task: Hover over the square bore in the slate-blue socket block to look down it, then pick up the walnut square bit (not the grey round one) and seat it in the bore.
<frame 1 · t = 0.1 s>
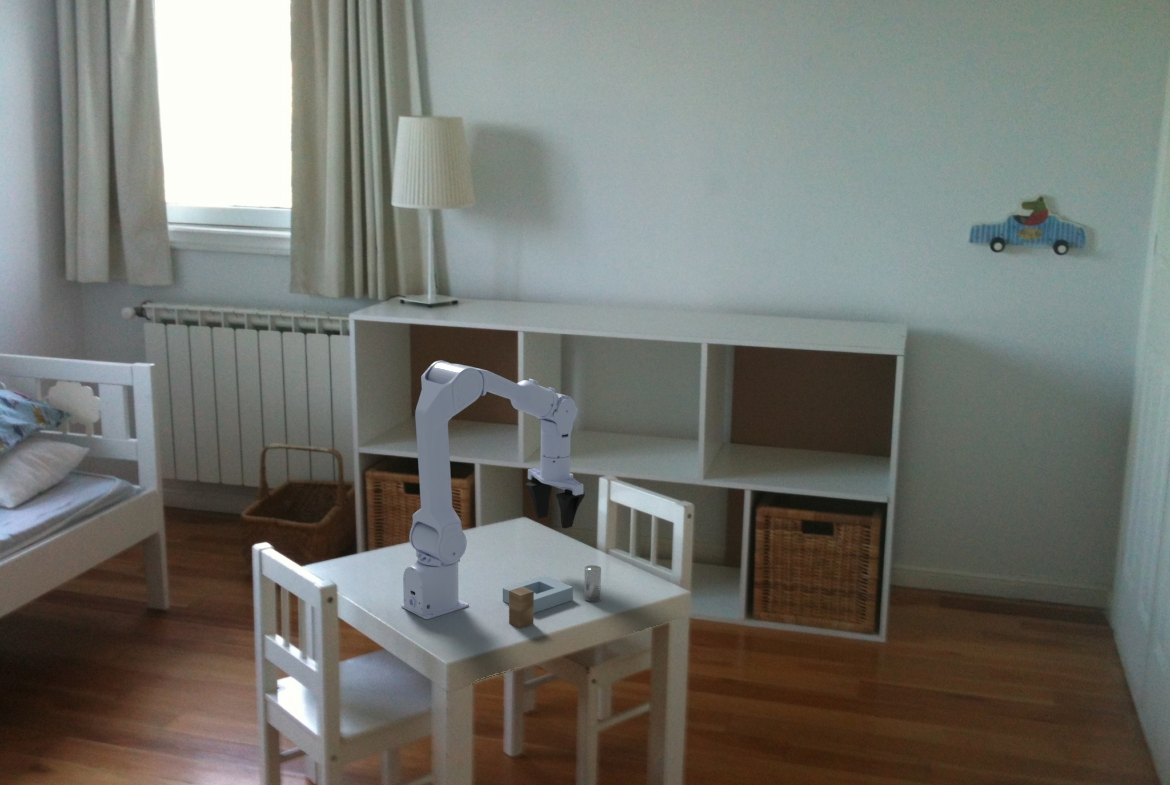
hand: (554, 522, 221), 10 cm above the table, tool pointing down, fingers open, 7 cm apart
square bit: (521, 623, 197), on the table
socket block: (537, 600, 207), on the table
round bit: (592, 599, 208), on the table
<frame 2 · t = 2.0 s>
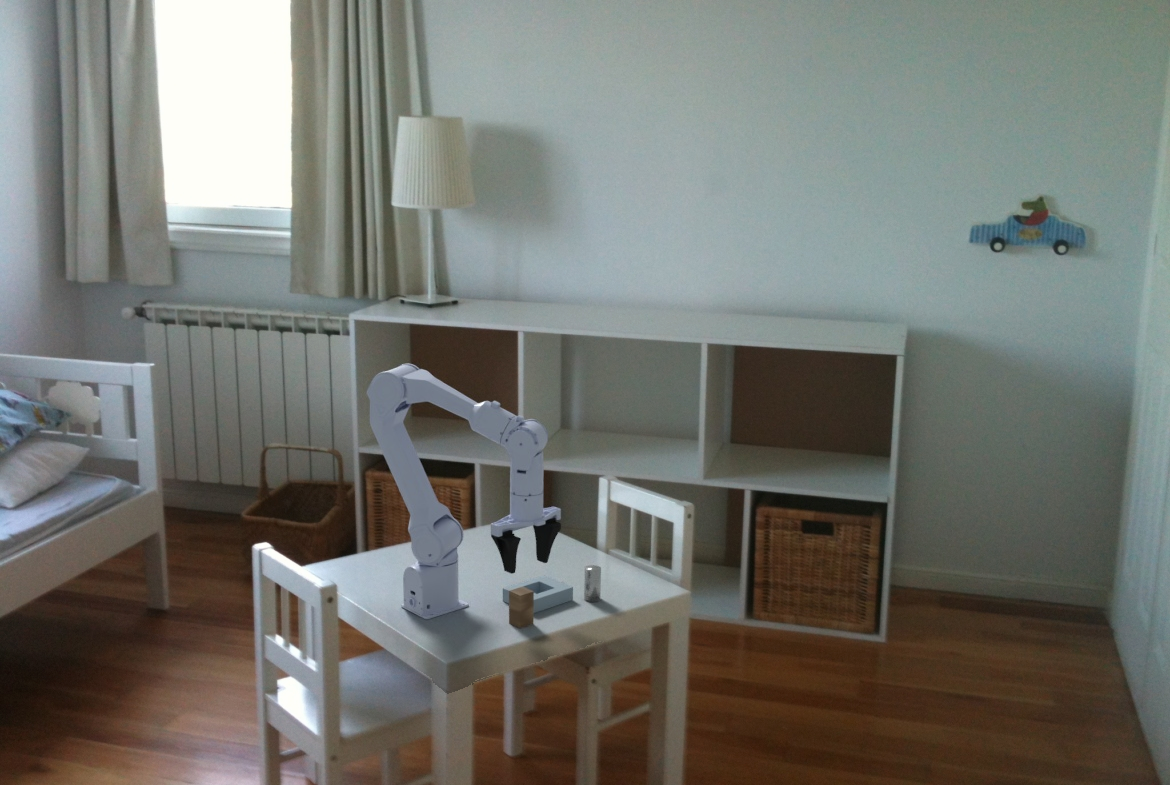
hand: (526, 566, 198), 9 cm above the table, tool pointing down, fingers open, 7 cm apart
nothing on the table moved.
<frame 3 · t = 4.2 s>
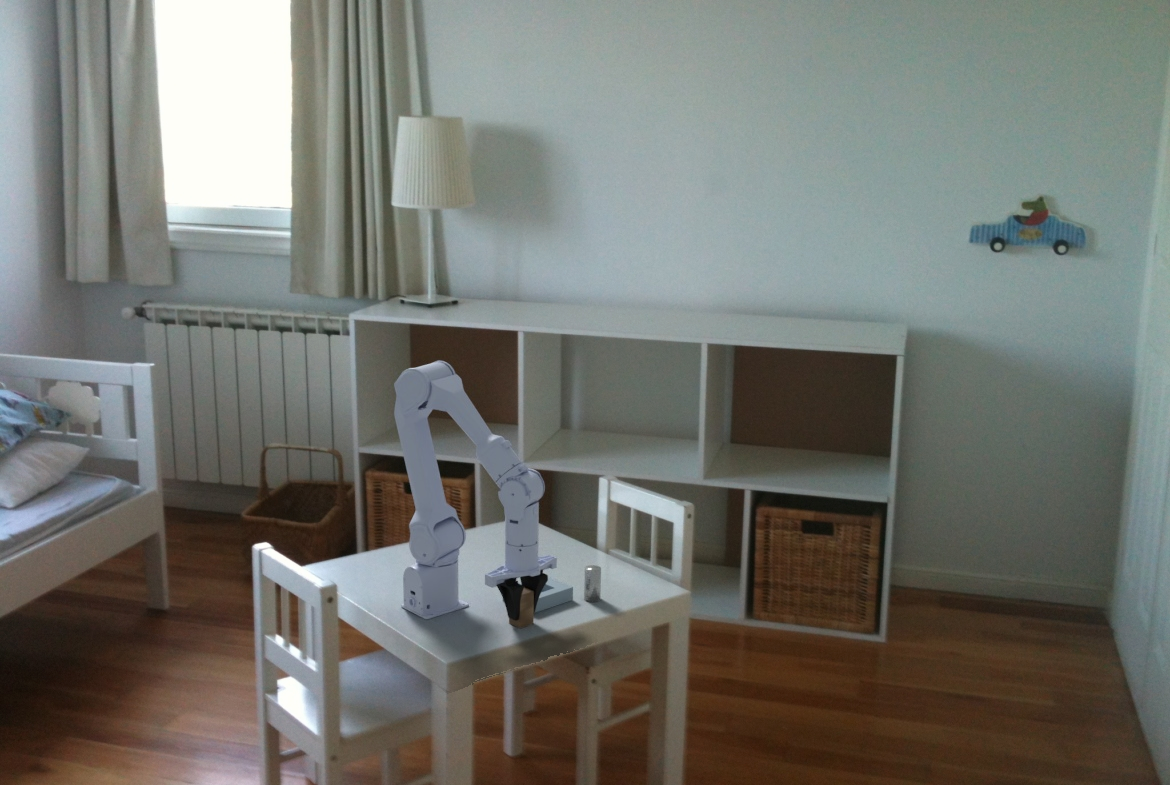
hand: (521, 615, 197), 1 cm above the table, tool pointing down, fingers closed on square bit, 3 cm apart
square bit: (521, 623, 197), on the table, touching gripper
everything else where it was.
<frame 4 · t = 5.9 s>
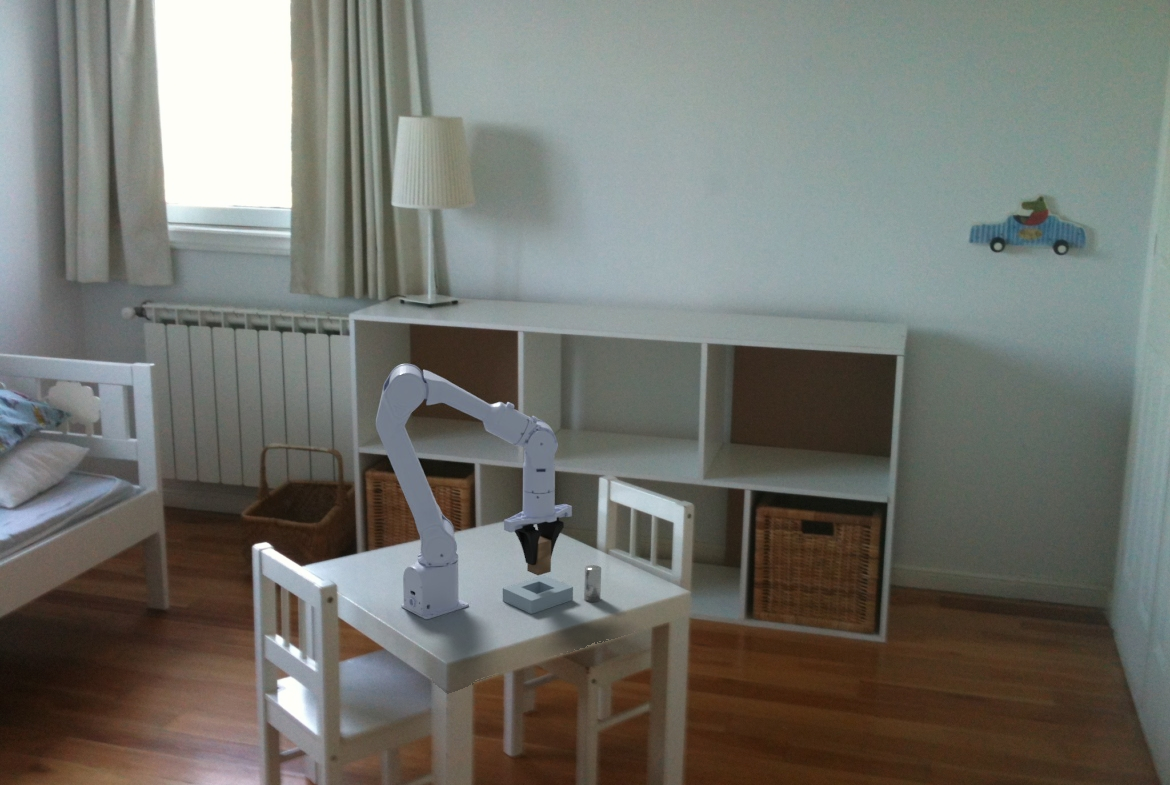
hand: (538, 561, 206), 8 cm above the table, tool pointing down, fingers closed on square bit, 3 cm apart
square bit: (539, 571, 206), point 6 cm above the table, touching gripper
everything else where it was.
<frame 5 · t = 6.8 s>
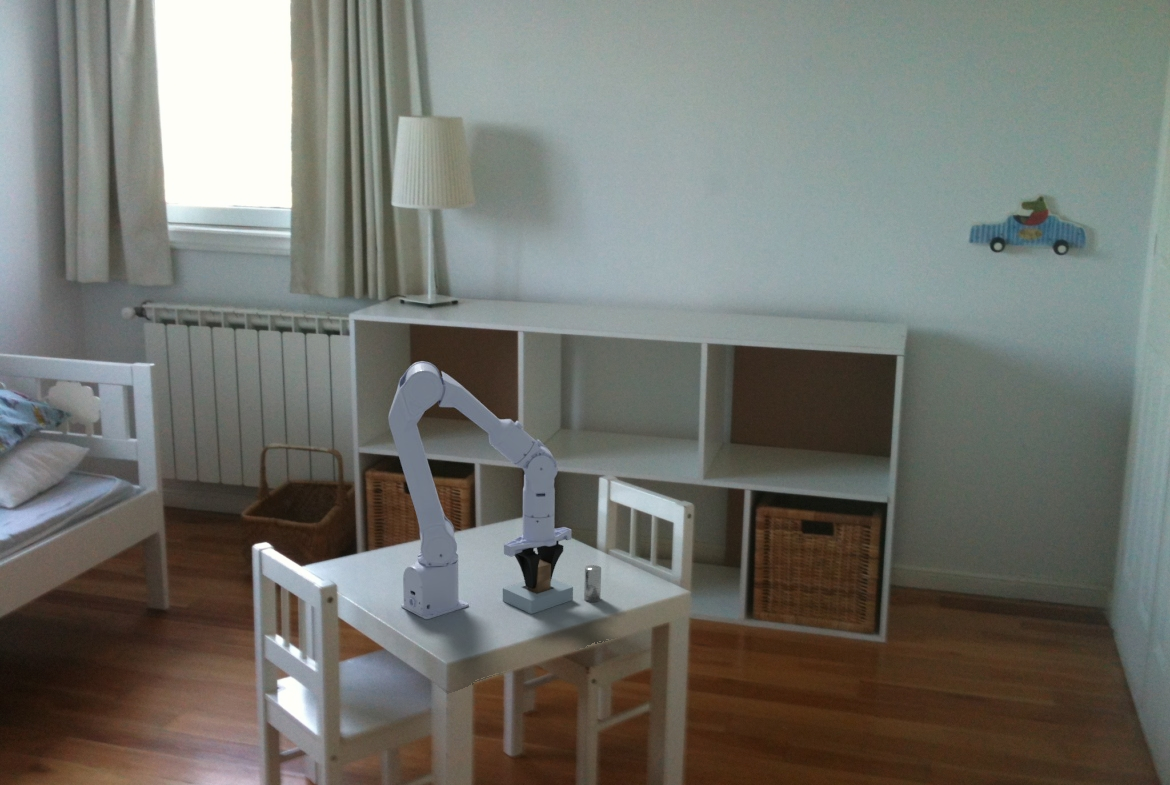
hand: (538, 584, 207), 3 cm above the table, tool pointing down, fingers closed on square bit, 3 cm apart
square bit: (538, 594, 207), point 1 cm above the table, touching gripper
everything else where it was.
when the fingers open (3 cm above the table, at t = 7.6 s): square bit drops 1 cm, resting in socket block.
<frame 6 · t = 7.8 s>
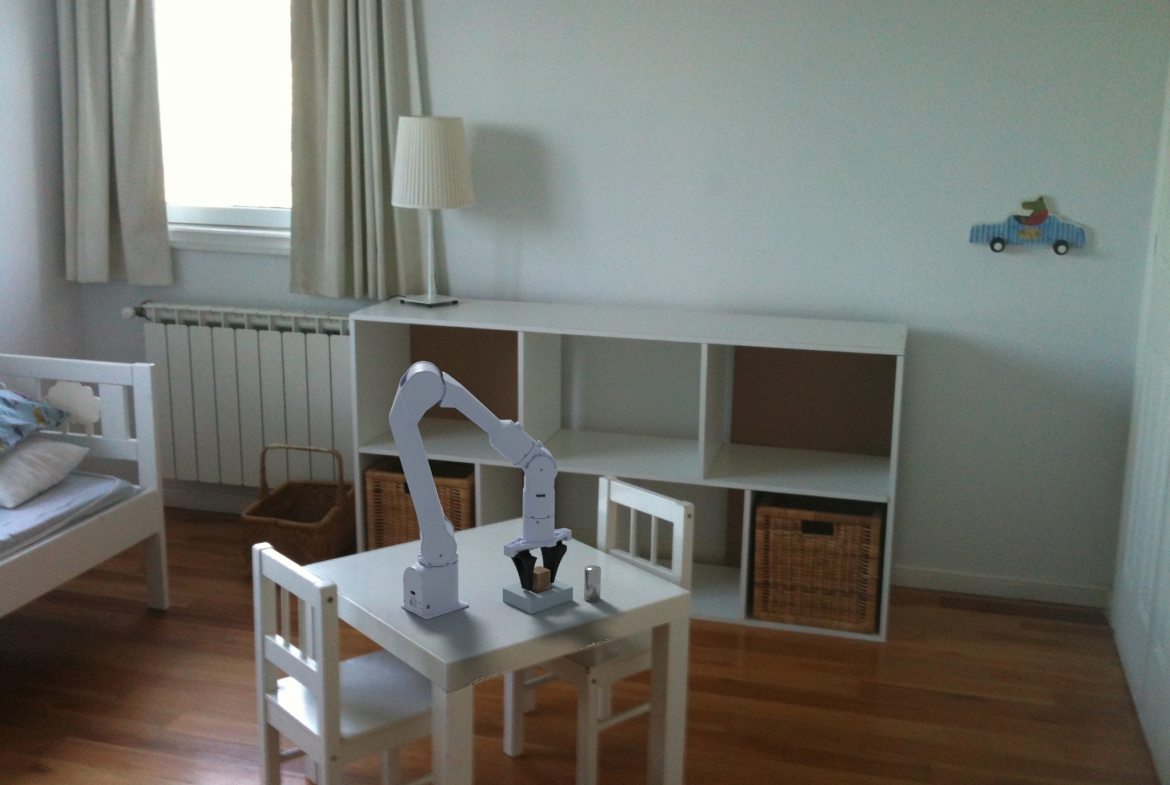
hand: (538, 585, 207), 3 cm above the table, tool pointing down, fingers open, 5 cm apart
square bit: (538, 601, 207), resting in socket block
everything else where it was.
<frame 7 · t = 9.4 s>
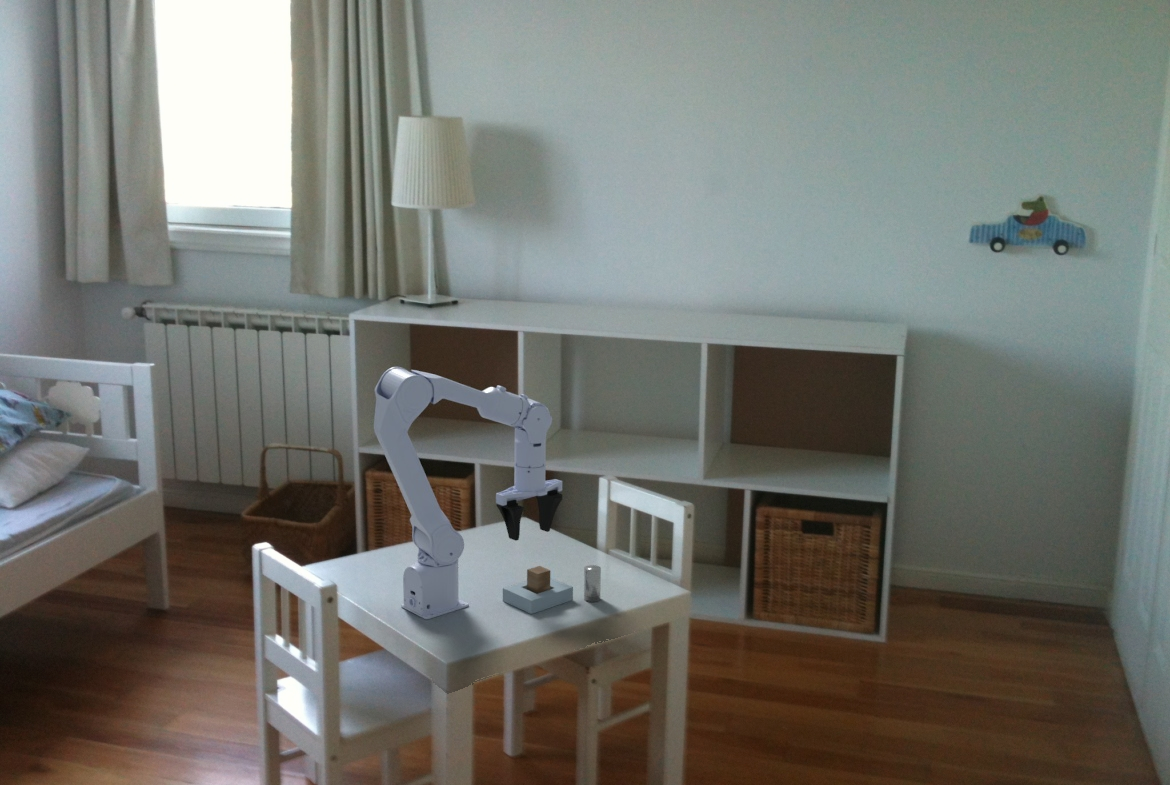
hand: (529, 534, 211), 10 cm above the table, tool pointing down, fingers open, 7 cm apart
nothing on the table moved.
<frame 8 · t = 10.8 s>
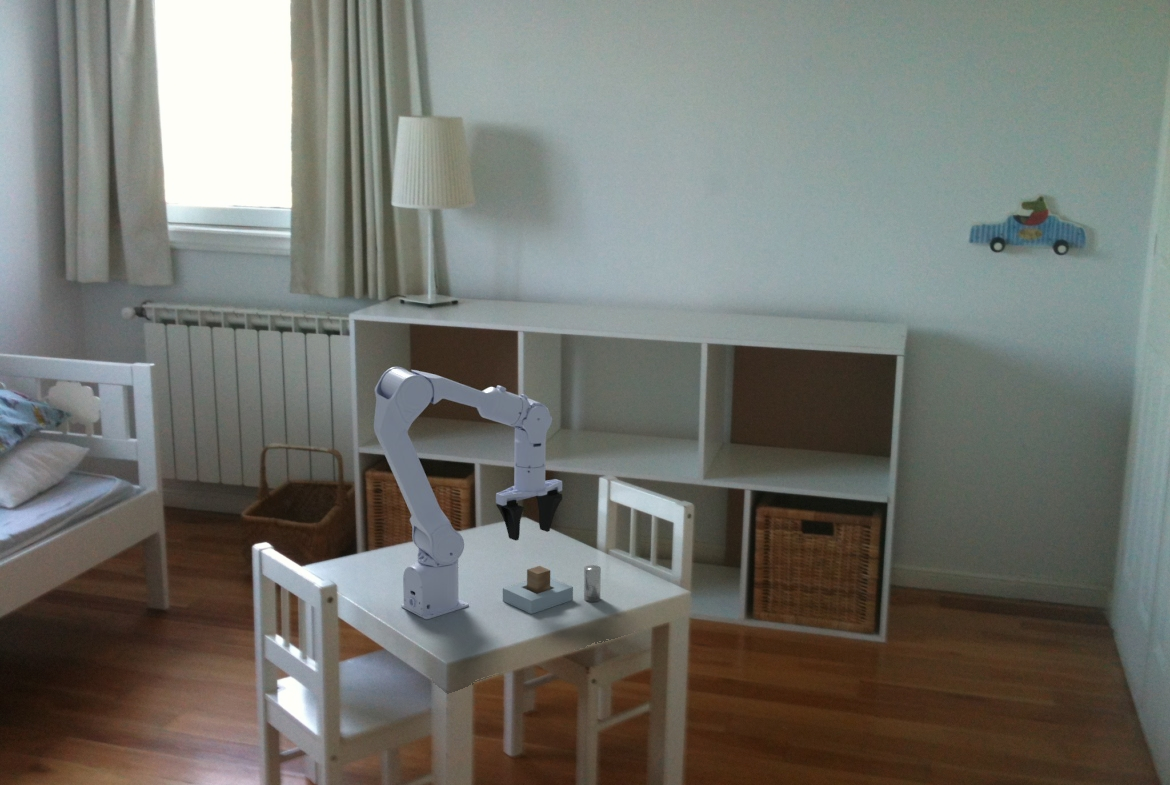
hand: (529, 534, 211), 10 cm above the table, tool pointing down, fingers open, 7 cm apart
nothing on the table moved.
at the end: square bit 0.2 cm off-centre on the socket block, point 0.0 cm above the socket block's base; square bit tilted 0°; the gripper is holding nothing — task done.
